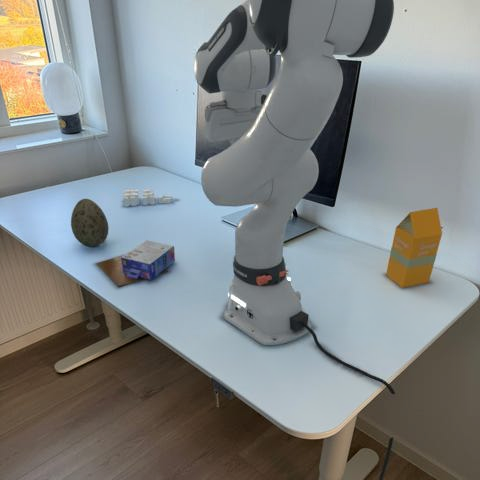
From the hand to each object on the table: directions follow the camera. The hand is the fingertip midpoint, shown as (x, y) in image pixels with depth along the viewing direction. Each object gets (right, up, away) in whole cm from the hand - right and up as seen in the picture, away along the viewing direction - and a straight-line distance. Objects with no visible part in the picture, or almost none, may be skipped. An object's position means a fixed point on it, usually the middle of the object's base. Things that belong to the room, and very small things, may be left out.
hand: (239, 154), depth 125 cm
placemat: (-31, -30, +8) cm, 44 cm away
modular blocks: (-35, 0, +50) cm, 61 cm away
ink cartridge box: (-23, -25, +10) cm, 35 cm away
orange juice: (+47, -34, +3) cm, 58 cm away
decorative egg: (-46, -22, +20) cm, 55 cm away
